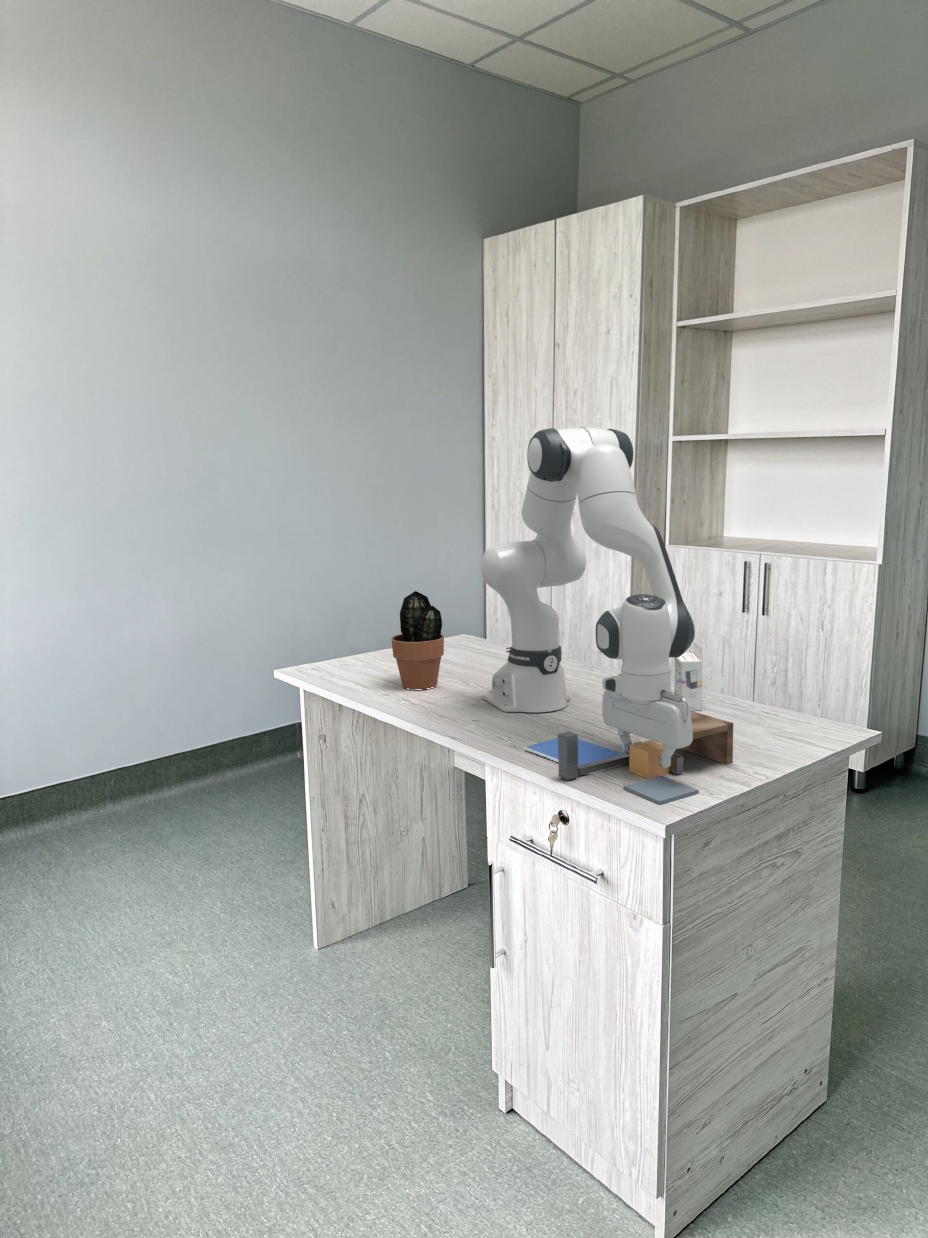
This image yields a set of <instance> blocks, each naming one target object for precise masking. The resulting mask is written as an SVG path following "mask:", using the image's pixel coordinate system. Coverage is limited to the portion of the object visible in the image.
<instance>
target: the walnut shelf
mask: <svg viewBox="0 0 928 1238" xmlns="http://www.w3.org/2000/svg"><path fill="white" fill-rule="evenodd" d="M689 711H690V710H689ZM690 715H691V721H692V732H693V741H692V742H691V744H690V745H689V746H687V747H683V748H680V749H682V750H685V751H687V752H690V753H693V754H696V755H699V756H701V757H702V756H703V757H705V758H707V759H711V760H713V761H716V762H720V763H722V764H725V765H730V764H733V762H734V761H733V759H734V722H731V721H727V720H724V719H720V718H716V717H713V716H711V715H707V714H703V713H701V712H697V711H690Z"/></svg>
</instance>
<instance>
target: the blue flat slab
mask: <svg viewBox="0 0 928 1238" xmlns="http://www.w3.org/2000/svg"><path fill="white" fill-rule="evenodd" d="M525 750H526V751H525ZM524 751H525V752H529V753H531V752H532V754H534V753H535V754H534V755H536V754H538V755H537V756H539V755H540V757H542V756H543V758H544V757H546V758H545V759H547V758H548V759H547V760H549V759H550V761H552V760H553V762H555V763H557V762H558V737H557V738H553V739H549V740H546V741H541V742H538V743H533V744H531V745H527V746H525V747H524ZM623 754H624V753H623V752H620V751H617V750H613V749H610V748H607V747H604V746H602V745H599V744H596V743H593V742H590V741H587V740H584V739H581V738H579V737H578V766H579V765H583V764H587V763H591V762H595V761H599V760H603V759H607V758H611V757H615V756H619V755H623ZM557 764H559V762H558V763H557ZM627 764H628V765H629V763H627ZM627 764H626V765H627ZM623 765H624V766H625V764H623ZM623 765H619V766H615V767H611V768H607V769H603V770H600V771H596V772H592V773H588V774H587V775H594V774H598V773H600V772H605V771H608V770H610V769H614V768H617V767H620V766H623Z"/></svg>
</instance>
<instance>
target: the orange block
mask: <svg viewBox="0 0 928 1238" xmlns="http://www.w3.org/2000/svg"><path fill="white" fill-rule="evenodd" d="M640 742H641V743H637V744H635V743H633V745H629V763H628V765H629V766H628V767H629V769H628V771H629V772H632V773H634V774H636V775H638V776H641V777H644V778H646V779H650V778H654V777H658V776H661V775H662V776H664V775H665V774H669V773H670V771H669V767H667V768H664V767H661V766H659V765H658V757H659V756H662V754H663V752H664V750H663V749H662V744H661V743H658V742H655V741H652V740H649V739H648V740H647V741H646V740H645V741H640Z"/></svg>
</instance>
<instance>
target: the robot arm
mask: <svg viewBox="0 0 928 1238" xmlns="http://www.w3.org/2000/svg"><path fill="white" fill-rule="evenodd" d="M527 446H528V448H527V454H526V458H527V465H528V469H529V470H530V474H529V477H528V481H527V485H526V490H525V494H524V499H523V502H522V508H521V517H522V520H523V523H524V525H525V526H526V527H527V528H529V529H530V531H532V532H534V533H535V534H536V536H535V538H534V539H532V540H523V541H509V542H504V543H501V544H497V545H494V546H491V547H489V548H487V549H486V551H485V552H484V553H483V556H482V558H481V562H480V571H481V575H482V579H483V580H484V582H485V583H486V585H487V586H489V587H490V588H491V589H493V590H494V591H495V592H496V593H497V594H498V595H499V596H500V597H501V599H502V601H504V603H505V605H506V608H507V610H508V615H509V618H510V627H511V628H510V629H511V646H510V647H506V648H505V649H506V651H505V652H506V653H508V657H507V661H506V662H505V664H504V665H502V666H501V667H500V668H499V669H498V670H497V671H495V673H494V674H493V675H492V679H491V690H488V691H487V692H486V691H485V692H484V693H482V696H481V697H482V699H483V700H484V701H486V702H488V703H490V704H491V705H493V706H494V707H496V708H498V709H499V710H500V711H502V712H506V713H509V712H511V713H514V712H515V713H516V712H521V713H547V712H554V711H559V710H562V709H564V708H566V707H567V706H568V701H570V700H571V698H570V695H569V694H567V687H566V677H565V670H564V667H563V665H562V664H561V662H562V654H563V652H562V647H561V645H560V617H559V615H558V613H557V611H556V610H555V609H554V608H553V606H550V604H549V605H548V604H547V603H544V602H543V601H541V600H540V598H539V594H538V589H539V588H549V587H559V586H560V587H561V586H564V585H567V584H570V583H573V582H576V581H578V580H580V579H582V577H583V575H584V573H585V571H586V569H587V568H586V567H587V556H586V553H585V550H584V548H583V547H582V546H581V544H580V543H579V542H578V541H576V540H575V538H574V537H573V534H572V529H571V525H572V518H573V513H574V508H575V504H576V501H577V500H578V507H579V508H578V509H579V516H580V521H581V525H582V528H583V530H584V532H585V534H586V535H587V536H588V537H589V538H590V539H591V540H592V541H593V542H595V543H597V544H599V545H600V546H602V547H603V548H605V549H610V550H613V551H617V552H619V553H622V554H624V555H627V556H628V557H629V556H630V557H631V558H633V559H635V560H636V561H637V562H638V563H639V564H640V565H641V566H642V568H643V569H644V572H645V574H646V577H647V581H648V583H649V587H650V590H651V593H652V595H651V594H647V593H645V594H644V593H641V594H640V593H639V594H634V595H630V596H628V597H626V598H624V600H623V603H622V605H620V606H619V607H616V608H612V609H609V610H605V611H604V612H603V613H602V614H601V615H600V617H599V618H598V620H597V621H596V625H595V643H596V647H597V649H598V650H599V651H600V652H601V653H602V654H603V655H604V656H605V657H607V658H608V659H610V660H611V659H614V660H621V668H620V673H619V674H618V675H613V676H609V677H604V678H603V679H602V683H601V684H602V685H601V686H602V689H603V690H604V692H603V694H602V699H601V700H602V702H601V704H602V705H601V707H602V713H601V714H602V718H603V722H604V724H605V725H606V726H608V727H611V728H614V729H617V736H618V738H619V741H620V743H621V744H622V745H621V747H622V750H621V752H622V753H623V754H629V745H633V744H634V743H633V742H632V739H631V735H630V734H632V735H634V736H638V737H641V738H643V739H647V740H648V741H649V740H650V741H653V742H656V743H659V744H662V749H663V750H664V752H663V754H662V756H659V757H658V765H659V766H661V767H664V768H667V767H670V765H671V757H672V755H673V753H674V754H675V751H676V750H678V749H681V748H683V747H687V746H689V745H690V744H691V742H692V741H693V732H692V721H691V715H690V711H689V704H688V703H687V702H686V700H685V699H683V696H681V695H679V694H674V692H672V667H671V664H670V658H674V659H675V658H677V657H680V656H681V655H682V654H684V653H687V651H688V650H689V648H690V647H691V645H692V643H694V641H695V636H696V635H695V634H696V630H695V629H696V628H695V625H694V621H693V618H692V616H691V614H690V612H689V610H688V608H687V605H686V604H685V602H684V598H683V597H682V593H681V590H680V588H679V585H678V582H677V578H676V574H675V572H674V570H673V569H674V568H673V566H672V563H671V560H670V556H669V553H668V551H667V547H666V545H665V542H664V539H663V537H662V535H661V532H660V531H659V529H658V527H657V526H656V525H654V524H653V523H650V522H649V521H648V519H647V518H646V517H645V516H644V513H643V512H642V510H641V509H640V506H639V504H638V498H637V494H636V488H635V484H634V483H635V482H634V479H633V475H632V471H631V467H632V465H633V462H634V461H633V460H634V447H633V442H632V440H631V438H630V437H629V435H628V434H627V433H625V432H623V431H621V430H618V429H613V428H607V429H605V428H604V429H603V428H598V427H588V426H580V427H566V428H554V427H550V428H544V429H541V430H538V431H537V432H535V433H534V434H533V435H532V437H531V438H530V440H529V443H528V445H527ZM682 701H683V702H682Z"/></svg>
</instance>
